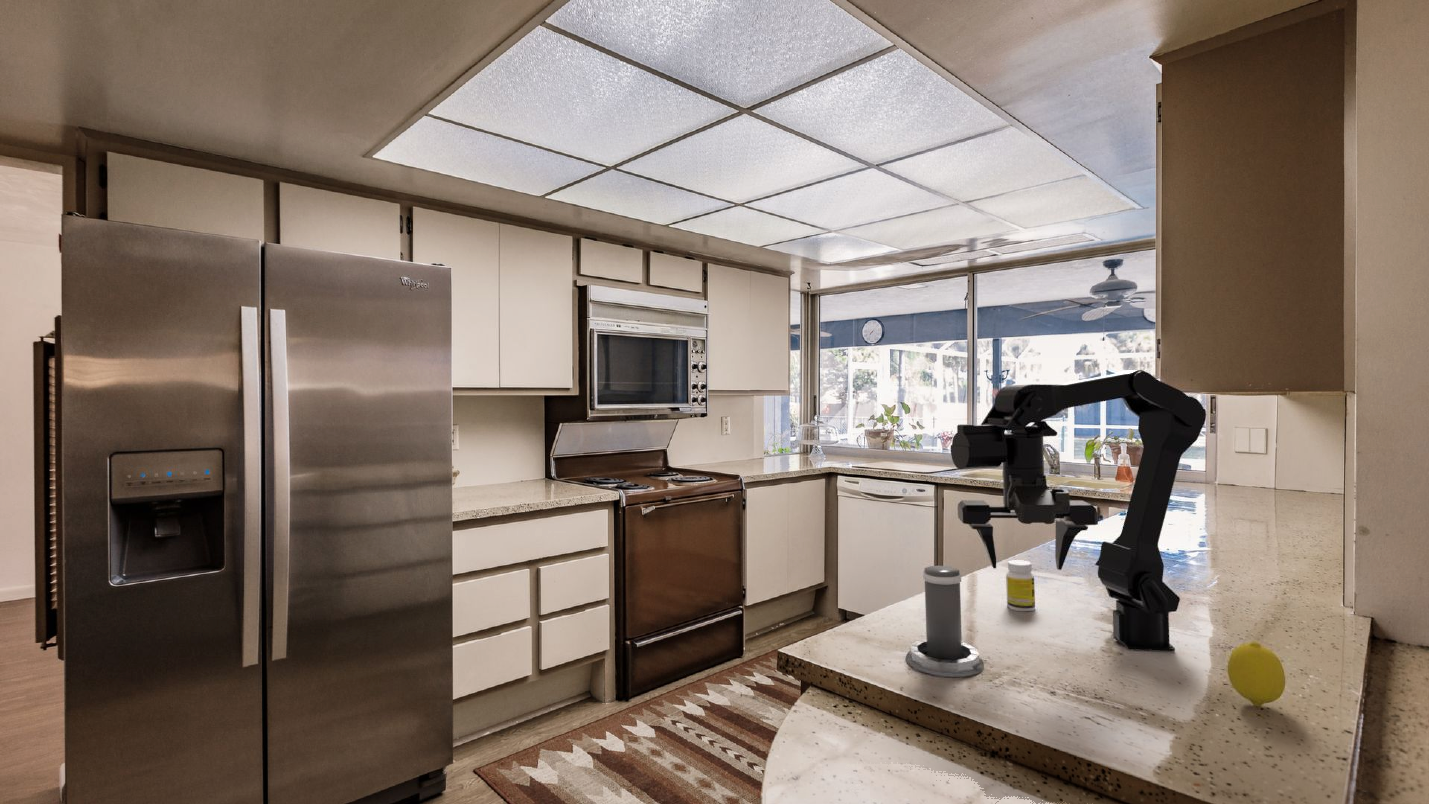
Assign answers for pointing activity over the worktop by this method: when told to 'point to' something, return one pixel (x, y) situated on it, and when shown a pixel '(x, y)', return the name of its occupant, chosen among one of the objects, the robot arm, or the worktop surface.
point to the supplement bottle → (1020, 586)
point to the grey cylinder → (943, 612)
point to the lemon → (1256, 673)
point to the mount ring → (944, 661)
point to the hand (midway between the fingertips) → (1026, 568)
